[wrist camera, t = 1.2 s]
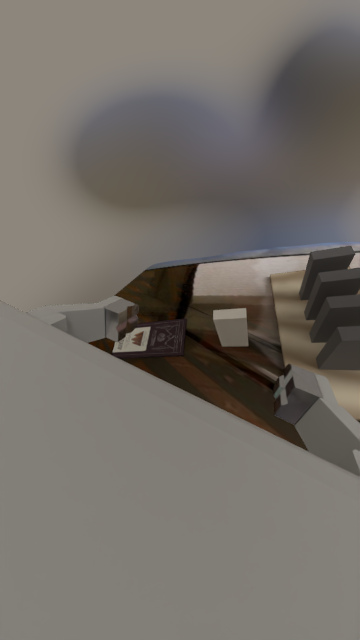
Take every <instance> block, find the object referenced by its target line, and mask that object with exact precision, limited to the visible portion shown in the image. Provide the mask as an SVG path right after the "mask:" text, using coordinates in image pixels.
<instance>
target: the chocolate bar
mask: <svg viewBox="0 0 360 640" xmlns="http://www.w3.org/2000/svg"><path fill="white" fill-rule="evenodd" d="M186 321H187V319H176V320H167V321H157V322H148V323H138V324H137V326H136V328H135V329H134V331H132V332H131V333H127V334H126V337H125V338H123V339H122V340H121V341H119V342H115V345H114V349H113V352H112V356H114V357H117V358H140V357H165V356H183V355H184V344H185V332H186Z"/></svg>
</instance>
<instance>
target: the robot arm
mask: <svg viewBox="0 0 360 640" xmlns="http://www.w3.org/2000/svg"><path fill="white" fill-rule="evenodd" d="M138 312H139V306H138V305H137V304H135V303H132V302H130V301H127V300H125V299H123V298H120V297H117V296H113V297H110V298H108V299H106V300H103V301H101V302H99V303H96V304H93V303H88V304H70V305H52V306H43V307H40V308H38V309H35V310H32V311H29V312H26V313H25V312H23V311H21V310H19V309H16V308H15V307H13V306H11V305H9V304H6V303H5V302H2V301H0V640H360V423H359V422H358V421H357V420H355V419H354V418H353V417H352V416H351V415H350V414H349V413H348V412H347V411H346V410H345V409H344V408H343V407H341V406H339V405H338V403H337V400H336V398H335V395H334V393H333V390H332V388H331V386H330V383H329V381H328V379H327V378H326V377H325V376H322V375H319V374H316V373H313V372H310V371H308V370H305V369H302V368H299V367H297V366H294V365H291V364H288V365H287V366H286V367H285V368H284V375H282V376H280V377H279V378H278V379H277V381H276V383H275V386H274V391H273V395H274V397H275V398H276V400H275V402H274V415H275V416H277V417H279V418H281V419H283V420H285V421H287V422H289V423H292V424H294V425H295V428H296V429H297V431H298V433H299V435H300V436H301V438H302V440H303V442H304V443H305V445H306V447H307V449H308V450H309V452H308V451H306V450H304V449H302V448H300V447H298V446H296V445H294V444H292V443H290V442H288V441H286V440H284V439H282V438H279V437H277V436H275V435H273V434H271V433H269V432H267V431H265V430H263V429H261V428H259V427H257V426H255V425H253V424H251V423H249V422H247V421H245V420H243V419H241V418H239V417H237V416H235V415H233V414H231V413H229V412H227V411H225V410H222V409H220V408H218V407H216V406H214V405H212V404H210V403H208V402H206V401H204V400H202V399H200V398H198V397H196V396H194V395H192V394H190V393H188V392H186V391H184V390H182V389H180V388H178V387H176V386H174V385H171V384H169V383H167V382H165V381H163V380H161V379H159V378H157V377H155V376H153V375H151V374H149V373H147V372H145V371H143V370H141V369H139V368H137V367H135V366H133V365H131V364H129V363H127V362H125V361H123V360H121V359H119V358H117V357H114V356H112V355H110V354H108V353H106V352H104V351H102V350H100V349H98V348H96V347H94V346H92V345H90V344H88V342H92V341H95V340H99V339H102V338H105V337H106V338H109V339H111V340H113V341H116V342H119V341H121V340H122V339H123V338H125V337H126V334H127V333H131V332H132V331H134V329H135V328H136V326H137V323H138V318H137V315H136V314H137V313H138Z"/></svg>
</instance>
